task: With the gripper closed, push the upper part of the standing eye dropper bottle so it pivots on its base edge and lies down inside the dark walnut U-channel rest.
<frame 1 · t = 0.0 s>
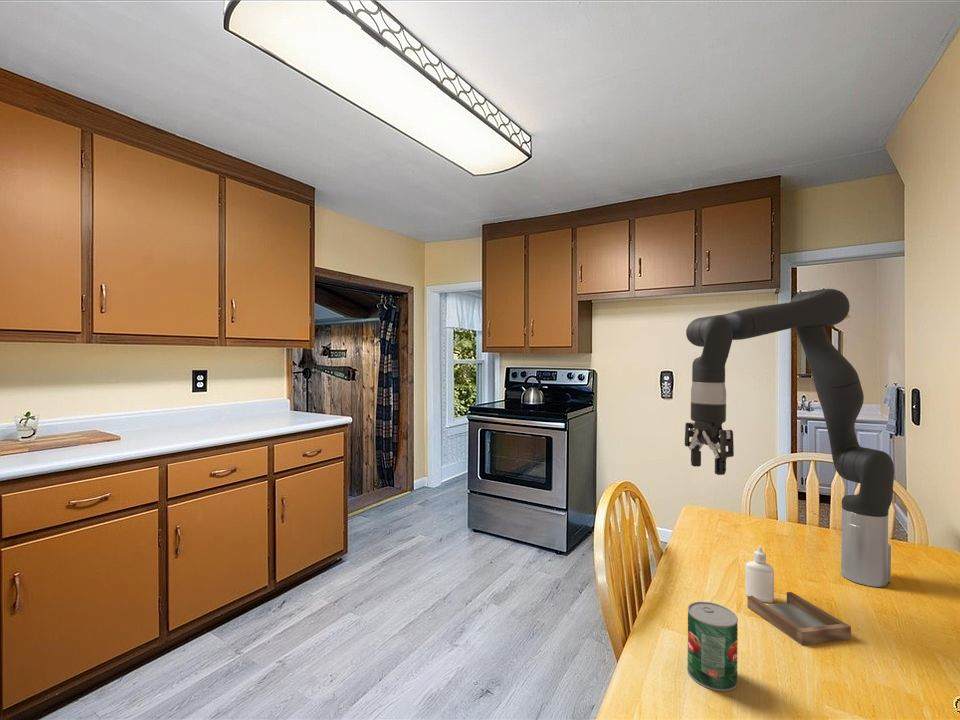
hand: (707, 470, 111), 29 cm above the table, tool pointing down, fingers open, 8 cm apart
eye dropper bottle: (759, 599, 110), on the table
canned tomato: (711, 676, 83), on the table
u rest: (793, 620, 100), on the table
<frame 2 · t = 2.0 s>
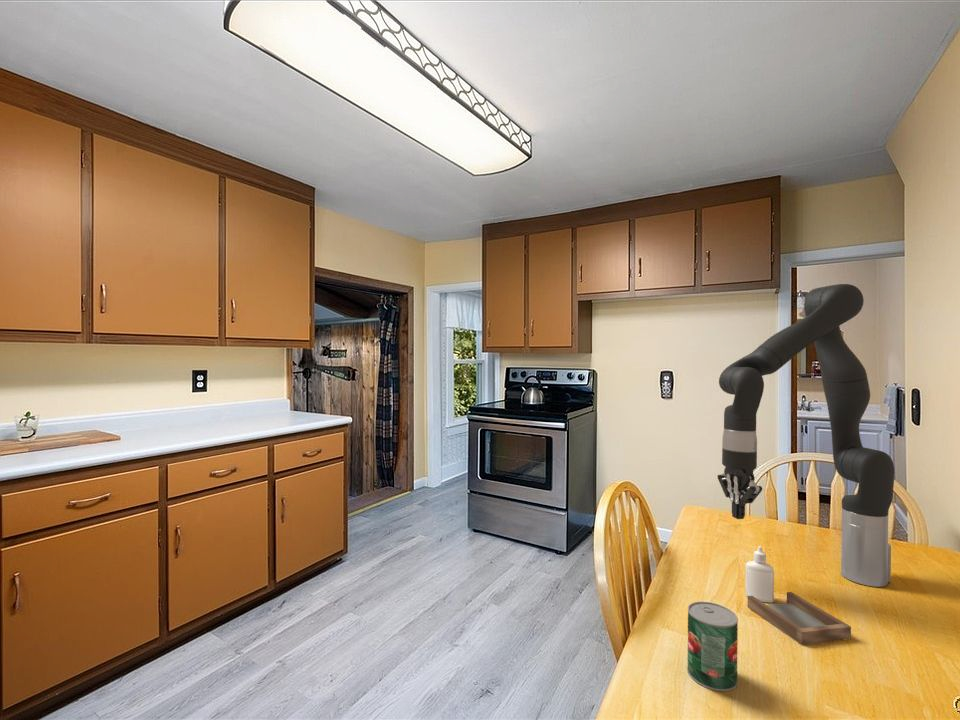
hand: (738, 518, 117), 16 cm above the table, tool pointing down, fingers closed
nothing on the table moved.
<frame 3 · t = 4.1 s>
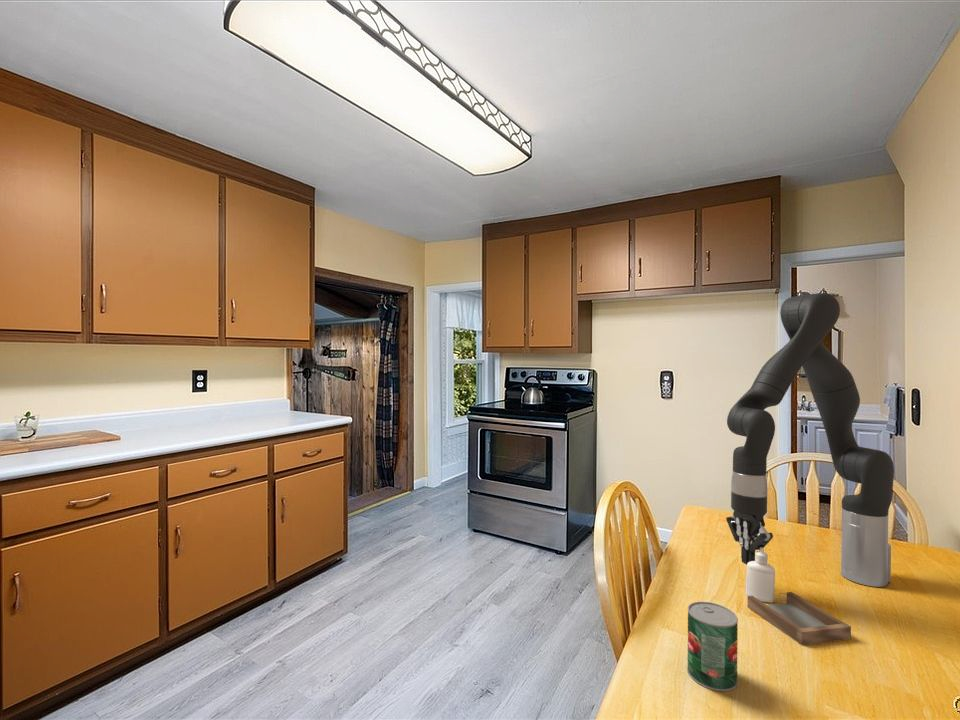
hand: (747, 563, 113), 7 cm above the table, tool pointing down, fingers closed
eye dropper bottle: (759, 598, 110), on the table, touching gripper
everything else where it was.
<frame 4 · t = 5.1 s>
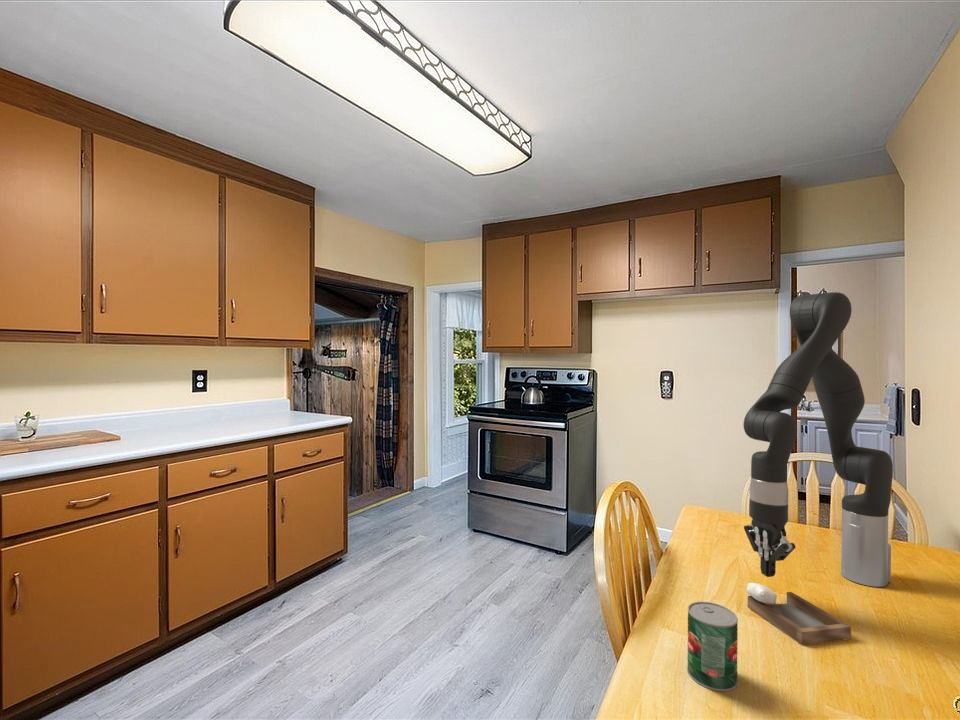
hand: (767, 575, 107), 7 cm above the table, tool pointing down, fingers closed
eye dropper bottle: (760, 593, 109), point 2 cm above the table, touching u rest
everything else where it was.
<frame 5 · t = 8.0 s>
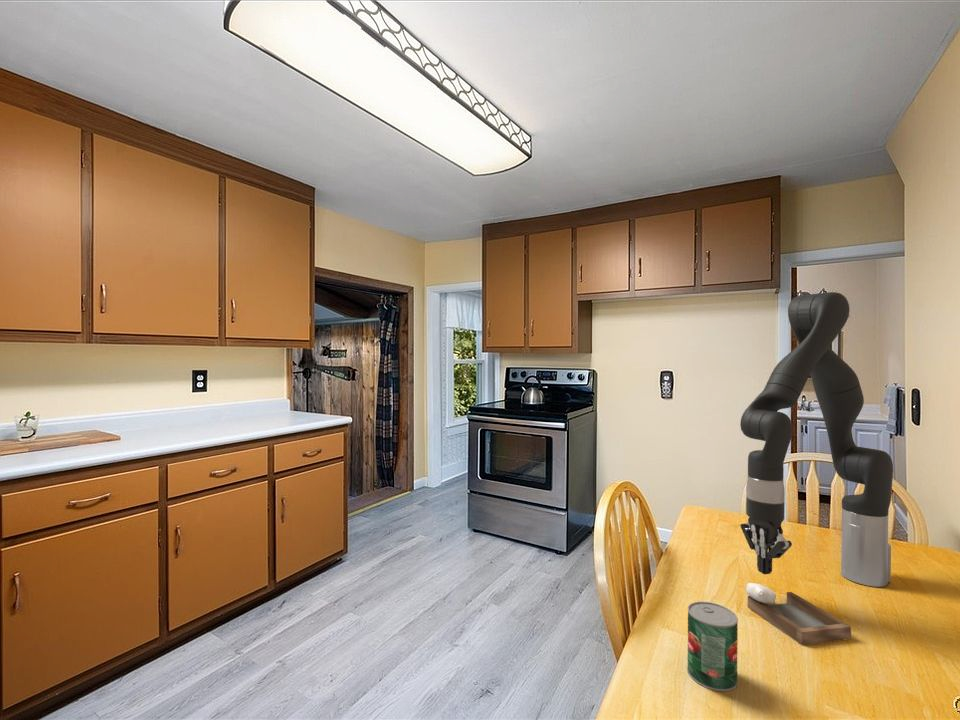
hand: (764, 572, 108), 7 cm above the table, tool pointing down, fingers closed
nothing on the table moved.
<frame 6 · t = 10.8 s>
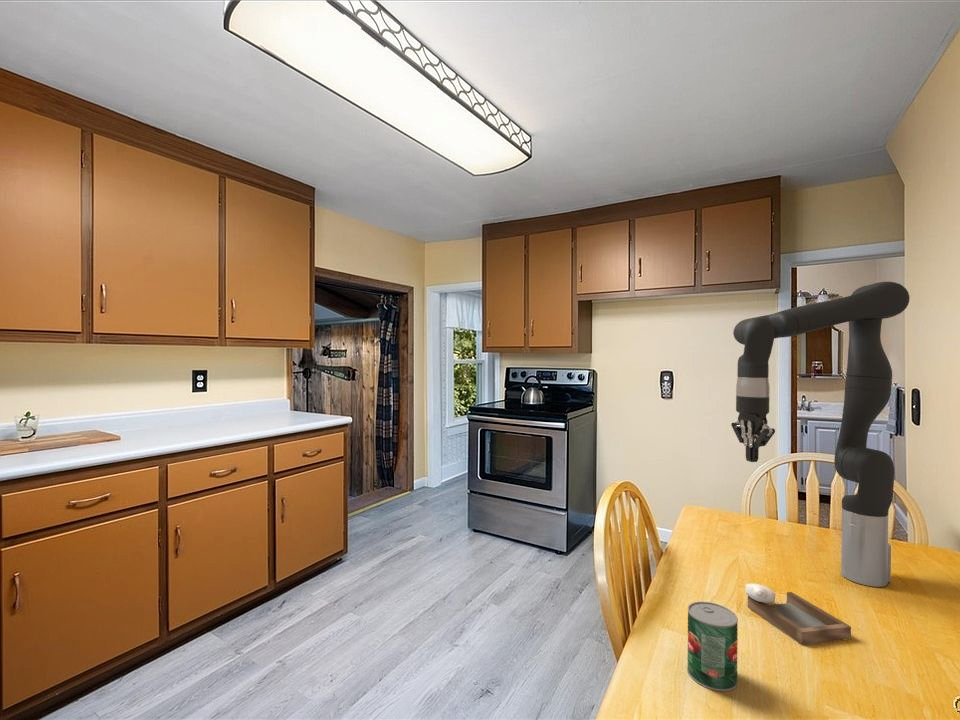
hand: (751, 461, 123), 29 cm above the table, tool pointing down, fingers closed
nothing on the table moved.
at the end: eye dropper bottle tilted 66°; eye dropper bottle inside the target area (4.6 cm from its centre), point 1.5 cm above the table; the gripper is holding nothing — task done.
